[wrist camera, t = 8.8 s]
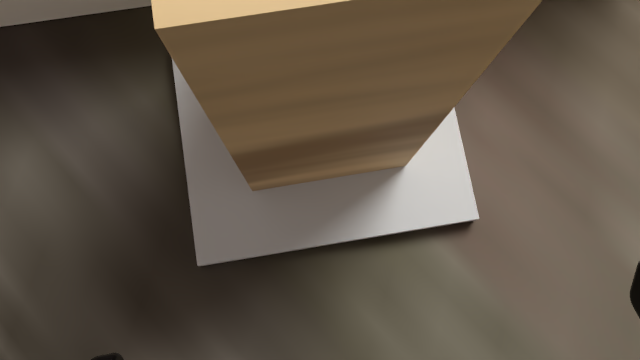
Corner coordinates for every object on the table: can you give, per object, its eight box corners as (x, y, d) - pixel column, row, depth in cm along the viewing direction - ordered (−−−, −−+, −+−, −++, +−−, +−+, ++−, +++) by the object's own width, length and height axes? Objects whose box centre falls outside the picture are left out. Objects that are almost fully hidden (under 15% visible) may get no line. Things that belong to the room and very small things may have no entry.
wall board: (719, 179, 18) (921, 128, 12) (-73, 312, 17) (-284, 327, 11) (632, -100, 20) (768, -261, 14) (-82, -2, 19) (-263, -135, 13)
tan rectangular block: (405, 166, 17) (595, -65, 6) (252, 191, 17) (137, 2, 6) (375, 21, 18) (489, -419, 7) (230, 43, 18) (94, -377, 7)
